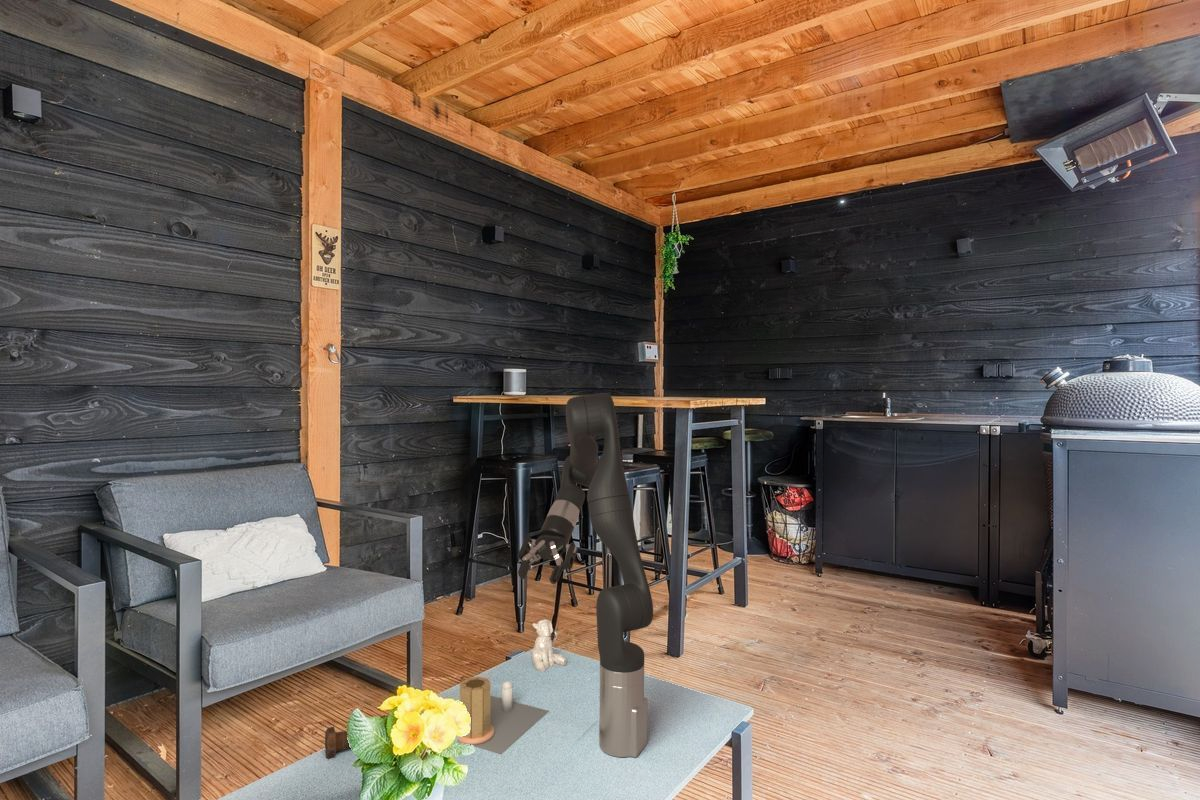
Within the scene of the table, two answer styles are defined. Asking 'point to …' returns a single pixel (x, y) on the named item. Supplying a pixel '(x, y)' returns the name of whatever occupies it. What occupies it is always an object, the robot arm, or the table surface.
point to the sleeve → (477, 705)
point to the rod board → (506, 722)
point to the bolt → (335, 742)
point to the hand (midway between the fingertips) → (536, 579)
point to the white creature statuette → (545, 648)
